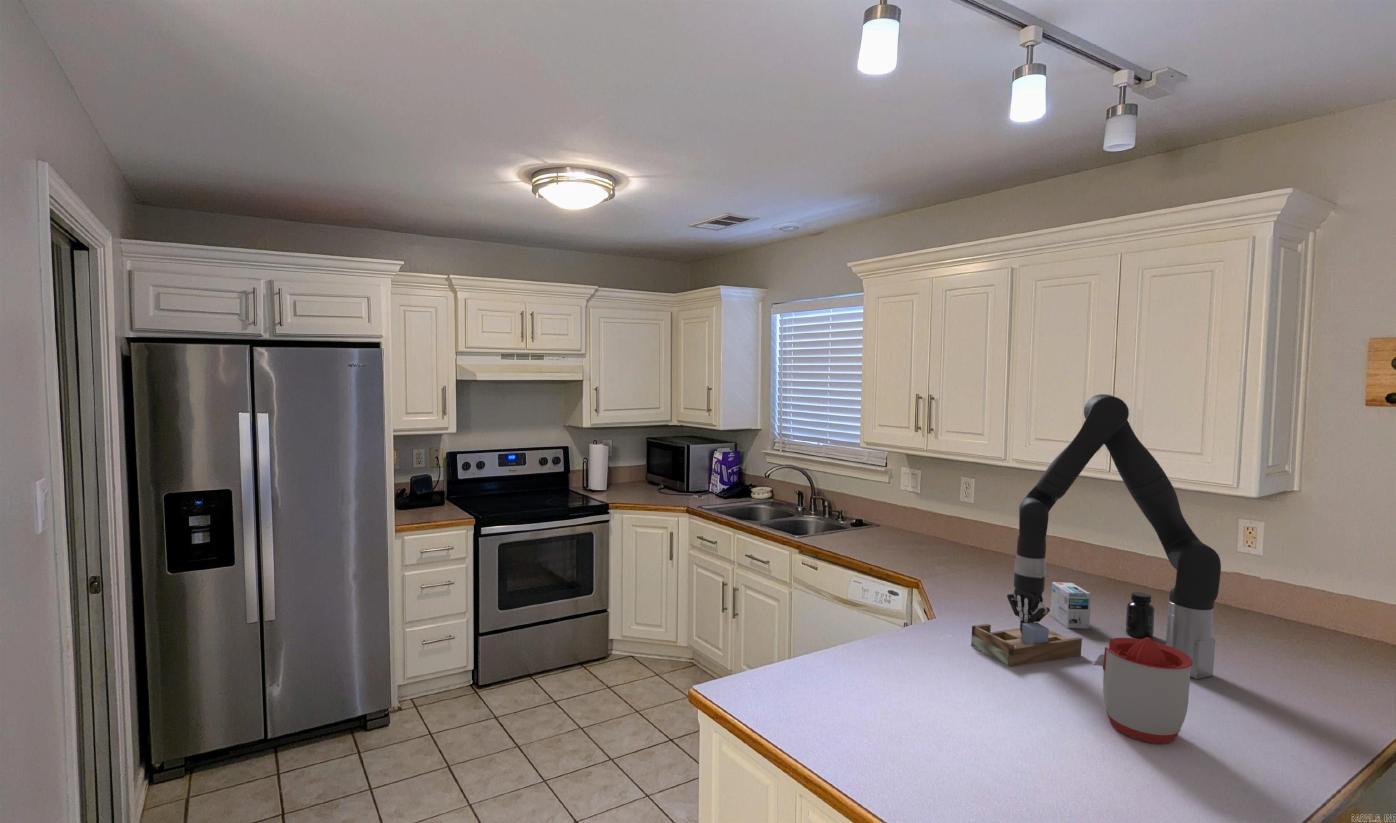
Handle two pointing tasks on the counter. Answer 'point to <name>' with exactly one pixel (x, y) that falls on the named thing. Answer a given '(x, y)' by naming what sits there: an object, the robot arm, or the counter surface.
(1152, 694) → the citrus juicer
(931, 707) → the counter surface
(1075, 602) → the light bulb box
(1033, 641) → the block
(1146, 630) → the supplement bottle
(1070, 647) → the board
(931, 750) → the counter surface
